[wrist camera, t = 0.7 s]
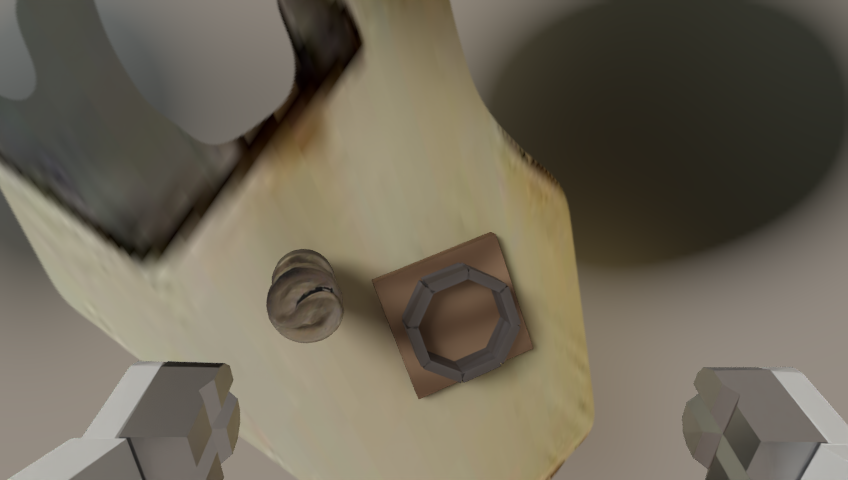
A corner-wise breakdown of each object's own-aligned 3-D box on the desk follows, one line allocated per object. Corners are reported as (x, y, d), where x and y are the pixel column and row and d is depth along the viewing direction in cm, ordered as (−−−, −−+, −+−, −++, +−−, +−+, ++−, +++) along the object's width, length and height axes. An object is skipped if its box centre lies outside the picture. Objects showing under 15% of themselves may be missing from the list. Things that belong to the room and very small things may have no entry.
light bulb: (346, 266, 52) (362, 308, 38) (308, 308, 52) (309, 367, 37) (301, 228, 51) (299, 256, 36) (262, 271, 50) (245, 317, 36)
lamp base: (371, 279, 53) (377, 291, 48) (490, 232, 55) (506, 238, 50) (415, 392, 56) (425, 412, 51) (527, 343, 58) (545, 358, 53)
